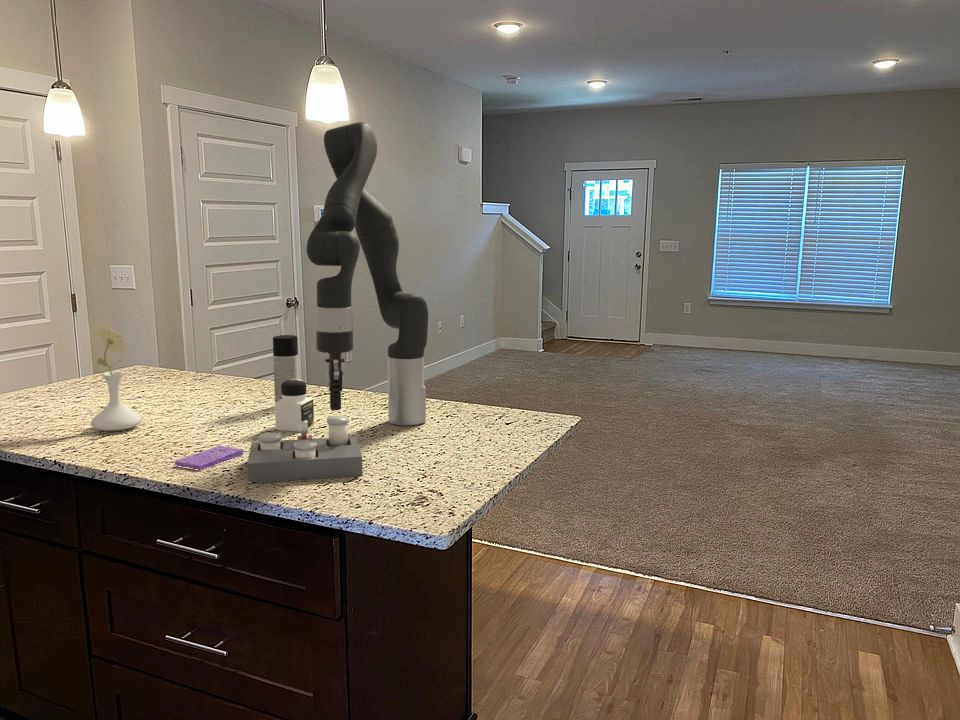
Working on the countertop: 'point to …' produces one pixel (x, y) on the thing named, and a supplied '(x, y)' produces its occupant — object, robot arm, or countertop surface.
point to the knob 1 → (270, 441)
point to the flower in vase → (114, 389)
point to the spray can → (284, 361)
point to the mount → (304, 462)
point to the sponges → (209, 457)
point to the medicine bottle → (293, 406)
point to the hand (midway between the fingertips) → (335, 409)
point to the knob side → (305, 448)
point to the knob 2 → (338, 430)
